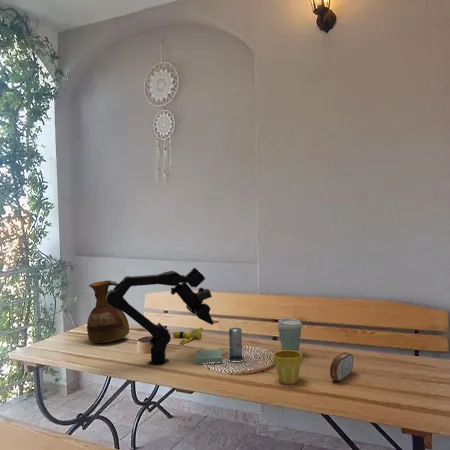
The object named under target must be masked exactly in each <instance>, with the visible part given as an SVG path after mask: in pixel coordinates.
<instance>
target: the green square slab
mask: <svg viewBox="0 0 450 450" xmlns="http://www.w3.org/2000/svg"><path fill="white" fill-rule="evenodd" d="M194 356H195V357H194V365H196V366H198V365H204V364H203V363H207V362H208V363H209V362H222V363H223V350H222V349H205V350H204V349H203V350H200V349H199V350H196V351H195V355H194Z"/></svg>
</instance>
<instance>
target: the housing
mask: <svg viewBox="0 0 450 450" xmlns="http://www.w3.org/2000/svg"><path fill="white" fill-rule="evenodd" d="M242 331H243V330H242V328H241V327H231V328H229V329H228V336H229V337H228V341H229V342H228V344H229V357H228V359H229V360H230V361H241V360H243V359H244V360H245V358H244V356H243V335H242V334H243V333H242ZM228 359H227V360H228Z"/></svg>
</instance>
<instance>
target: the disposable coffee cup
mask: <svg viewBox="0 0 450 450" xmlns="http://www.w3.org/2000/svg"><path fill="white" fill-rule="evenodd" d="M302 327H303V323H302V322H301V321H300V320H298V319H296V318H295V319H294V318H289V317H288V318H287V317H285V318H280V319H278V321H277V329H278V332H279V339H280V345H281V350H294V351H298V352H300V345H301V344H300V343H301V336H302Z"/></svg>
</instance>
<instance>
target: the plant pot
mask: <svg viewBox="0 0 450 450" xmlns="http://www.w3.org/2000/svg"><path fill="white" fill-rule="evenodd" d="M272 358H273V364H274V365H275V366H276V367H275V368H276V372H277V375H278V380H279V383H282V384H286V385H291V384H296V383H298V381H299V377H300V376H299V375H300V371H301V370H300V369H301V365H302V364H303V354H302V352H300V351H299V352H298V351H294V350H282V349H280V350H278V351H275V352H274V353H273V357H272Z"/></svg>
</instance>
